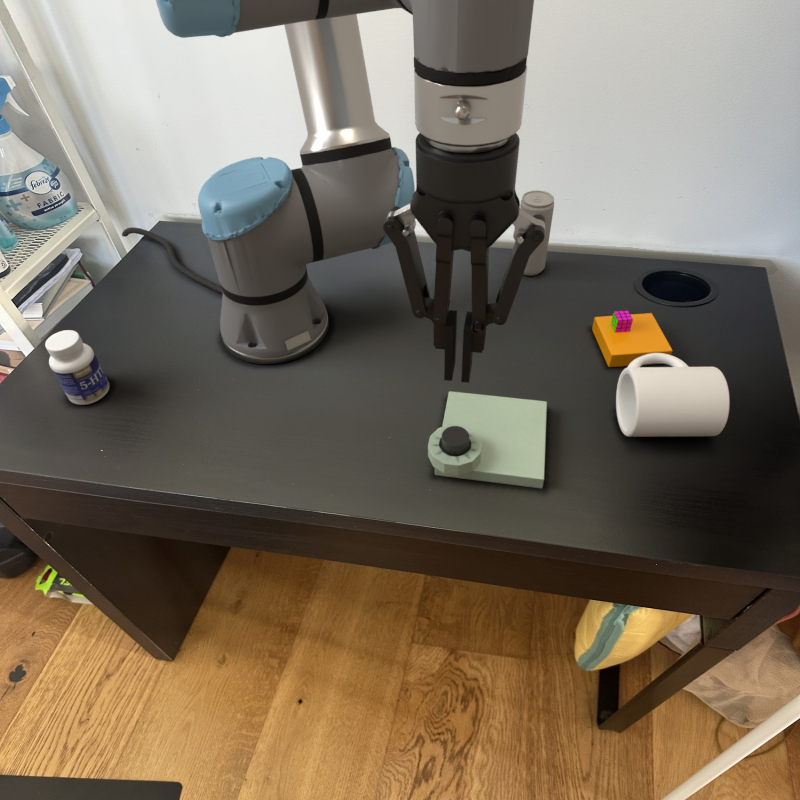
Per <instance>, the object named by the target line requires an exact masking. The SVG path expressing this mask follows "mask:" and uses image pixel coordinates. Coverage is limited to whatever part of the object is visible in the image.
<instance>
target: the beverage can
mask: <svg viewBox="0 0 800 800" xmlns="http://www.w3.org/2000/svg"><path fill="white" fill-rule="evenodd" d="M554 208H555V197H554V195H553V194H551V193H550V192H548V191H545V190H538V189H537V190H530V191H527V192H525V193H523V195H522V196H521V200H520V209H522V210H523V211H525V212H527V213H528V214H530V215H531V216H534V215H536V214H540V215H542V216H544V218H545V237H544V240H543V241H542V243H541V244H540V245H539V246H538V247H537V248H536V249H535V251H534V252H533V253H532V254H531V255H530V257H529V259H528V262H527V265H526V268H525V271H524V273H523V276H528V277H531V276H536V275H539V274H540V273H542V272H543V270H545V268H546V262H547V255H548V248H549V242H550V235H551V228H552V222H553V215H554Z"/></svg>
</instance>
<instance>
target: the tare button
mask: <svg viewBox="0 0 800 800" xmlns="http://www.w3.org/2000/svg"><path fill="white" fill-rule="evenodd" d="M468 448H469V433H468V432H467V430H466V429H464V428H462V427H460V426H451V427H448V428H446V429H445V430H444V431H443V433H442V449H443V451H444V452H445V453H446V454H448V455H450V456H461V455H463V454H465V453H466V452H467V450H468Z"/></svg>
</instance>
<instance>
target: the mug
mask: <svg viewBox="0 0 800 800" xmlns="http://www.w3.org/2000/svg"><path fill="white" fill-rule="evenodd" d="M655 363H661V364H663V365H668V366H648V367H647V366H645V364H648V365H656V364H655ZM661 364H660V365H661ZM730 401H731V400H730V390H729V385H728V382H727V379H726V377H725V375H724V373H723V372H722V371H721V370H720V369H719V368H718V367H716V366H689V365H688V364H687V363H686V362H685V361H683V360H682V359H681V358H678V357H676V356H674V355H673V354H671V355H668V354H664V353H651V354H646V355H643V356H641V357H638V358H637V359H635V360H633V361H632V362H631V363H630V364H629V365H628V366H626V367H625V368H623V369H622V371H621V373H620V374H619V376H618V380H617V385H616V392H615V410H616V418H617V423H618V425H619V429H620V431H621V432H622V434H623V435H624V436H625V437H629V438H631V437H633V438H637V437H639V438H640V437H641V438H642V437H644V438H645V437H649V438H650V437H651V438H652V437H653V438H654V437H656V438H657V437H658V438H659V437H717V436H718V435H720V434H721V433H722V432H723V430H724V428H725V427H726V424H727V422H728V419H729V413H730V404H731V403H730Z"/></svg>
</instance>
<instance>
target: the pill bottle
mask: <svg viewBox="0 0 800 800" xmlns="http://www.w3.org/2000/svg"><path fill="white" fill-rule="evenodd" d="M44 346H45V349H46V351H47V353H48V354H49V359H48V365H49V368H50V369H51V371H52V373H53V375H54V377H55V378H56V380H57V381H58V384H59V385H60V387H61V389H62V390H63V392H64V394H65V395H66V397H67V399H68V400H69V401H70V402H71V403H72V404H75V405H80V406H85V405H91V404H93V403H96V402H98V401H100V400H101V399H103V398H104V397H105V396H106V395H107V394H108V392H109V390H110V382H109V379H108V377H107V376H106V373H105V372H104V370H103V368H102V365H101V363H100V362H99V360H98V358H97V355H96V354H95V352H94V350H93V348H92V347H91V346H90V345H88V344H87V343H84V341H83V339H82V338H81V336H80V334H79V333H78V331H76V330H72V329H67V330H65V329H64V330H61V331H58V332H56V333H53V334H51V335H50V336H49V337H48V338H47V339H46V340H45V343H44Z"/></svg>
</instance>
